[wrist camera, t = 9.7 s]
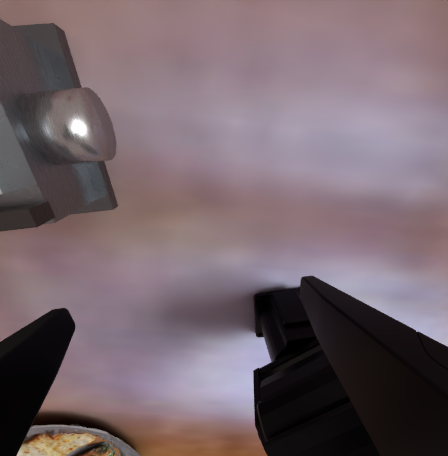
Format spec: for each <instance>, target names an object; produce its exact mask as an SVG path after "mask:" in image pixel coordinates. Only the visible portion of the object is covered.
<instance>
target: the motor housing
mask: <svg viewBox="0 0 448 456" xmlns="http://www.w3.org/2000/svg"><path fill="white" fill-rule="evenodd" d="M115 153H116V138H115V133H114V129H113V125H112V122H111V119H110V117H109V114H108V112H107V110H106V108H105V106H104V104H103V103H102V101H101V100H100V98H99V97H98V96H97V94H96V93H95V92H94V91H92V90H91V89H89V88H81V85H80V82H79V78H78V75H77V72H76V69H75V65H74V62H73V59H72V56H71V53H70V49H69V46H68V43H67V40H66V36H65V33H64V31H63V30H62V29H60V28H59V27H58V26H57V25H55V24H54V23H50V24H36V25H23V26H11V25H9V24H7V23H6V22H4V21H2V20H0V189H1V191H2V193H3V194H1V195H0V231H7V230H16V229H24V228H33V227H38V226H40V225H42V224H48V223H55V222H57V221H59V220H61V219H62V218H64V217H66V216H68V215H70V214H77V213H86V212H95V211H104V210H113V209H115V208H116V207H117V206H118V205H117V201H116V198H115V195H114V192H113V188H112V185H111V182H110V179H109V176H108V172H107V169H106V166H105V163H104V161H106V160H112V159H113V158H114V156H115Z"/></svg>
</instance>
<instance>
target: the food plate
mask: <svg viewBox="0 0 448 456" xmlns="http://www.w3.org/2000/svg"><path fill="white" fill-rule="evenodd" d="M97 435H98V436H99V437H100V438H103V440H104V439H105V440H107V441H109V442H111V444H113V445H114V446H115V447H116V448H118V449H119V450H120V451H119V453H120V454H121V456H140V454H138V453H137V451H135V450H134V449H133V448H131V447H130V446H129V445H128V444H127V445H126V443H127V442H126V443H125V442H122V441H123V439H122V441H121V439H120V440H119V439H118V438H117V437H116V438H115V437H114V436H112V435H110V434H109V433H107V432H106V431H103V430H99V429H95V428H94V429H92V428H86V427H85V425H84V426H82V427H81V426H80V425H79V424H78V423H77V424H73V423H72V424H70V425H68V426H67V425H35V426H31V428H30V430H29V432H28V434H27V436H26V438H25V440H24V442H23V444H22V446H21V448H20V450H19V452H18V454H17V456H114V454H115V452H116V451H114V450H113V447H114V446H112V445H111V444H110V443H107V442H102V443H98V444H94V445H93V446H88V447H87V445H85V444H88V443H90V442H91V441H95V440H96V437H97ZM84 445H85V446H84ZM81 446H83V447H82V448H79V447H81ZM116 455H119V454H116Z"/></svg>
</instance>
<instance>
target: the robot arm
mask: <svg viewBox="0 0 448 456" xmlns="http://www.w3.org/2000/svg"><path fill="white" fill-rule="evenodd" d="M258 298H259V299H258ZM254 314H255V333H256V336H257V337H264V339H265V342H266V345H267V349H268V352H269V355H270V359H271V363H269V364H267V365H265V366H263V367H262V368H260V369H259V368H257V369H255V370H254V371H253V372H254V407H255V426H256V429H257V431H258V436H259V438H260V440H261V442H262V445H263V447H264V450H265V452H266V454H267V455H268V456H448V347H447V346H445V345H443V344H441V343H439V342H437V341H435V340H433V339H431V338H430V337H428V336H426V335H424V334H422V333H420V332H416V330H414V329H412V328H410V327H409V326H407V325H405V324H403V323H401V322H399V321H397V320H395V319H393V318H392V317H390V316H388V315H386V314H384V313H382V312H380V311H378V310H376V309H374V308H373V307H371V306H369V305H367V304H365V303H363V302H361V301H359V300H357V299H356V298H354V297H352V296H350V295H348V294H346V293H344V292H342V291H340V290H338V289H337V288H335V287H333V286H331V285H329V284H327V283H325V282H323V281H321V280H320V279H318V278H316V277H314V276H305V277H302V278H301V284H300V288H297V289H290V290H282V291H275V292H267V293H260V294H256V295H255V296H254ZM74 331H75V322H74V321H73V319H72V317H71V315H70V313H69V311H68V310H67V309H66V308H60V309H54V310H51V311H50V312H48V313H46V314H45V315H43V316H41V317H40V318H38V319H37V320H35V321H33V322H32V323H30V324H29V325H27V326H25V327H24V328H22V329H20V330H19V331H17V332H16V333H14V334H12V335H11V336H9V337H7V338H6V339H4V340H3V341H1V342H0V456H17V454H18V452H19V450H20V448H21V446H22V444H23V442H24V440H25V438H26V436H27V434H28V432H29V430H30V428H31V426H32V424H33V422H34V420H35V418H36V416H37V414H38V412H39V410H40V408H41V406H42V404H43V402H44V400H45V398H46V396H47V394H48V392H49V390H50V388H51V386H52V384H53V382H54V380H55V377H56V375H57V373H58V371H59V368H60V366H61V364H62V361H63V359H64V356H65V354H66V351H67V349H68V346H69V343H70V341H71V338H72V336H73V333H74Z"/></svg>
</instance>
